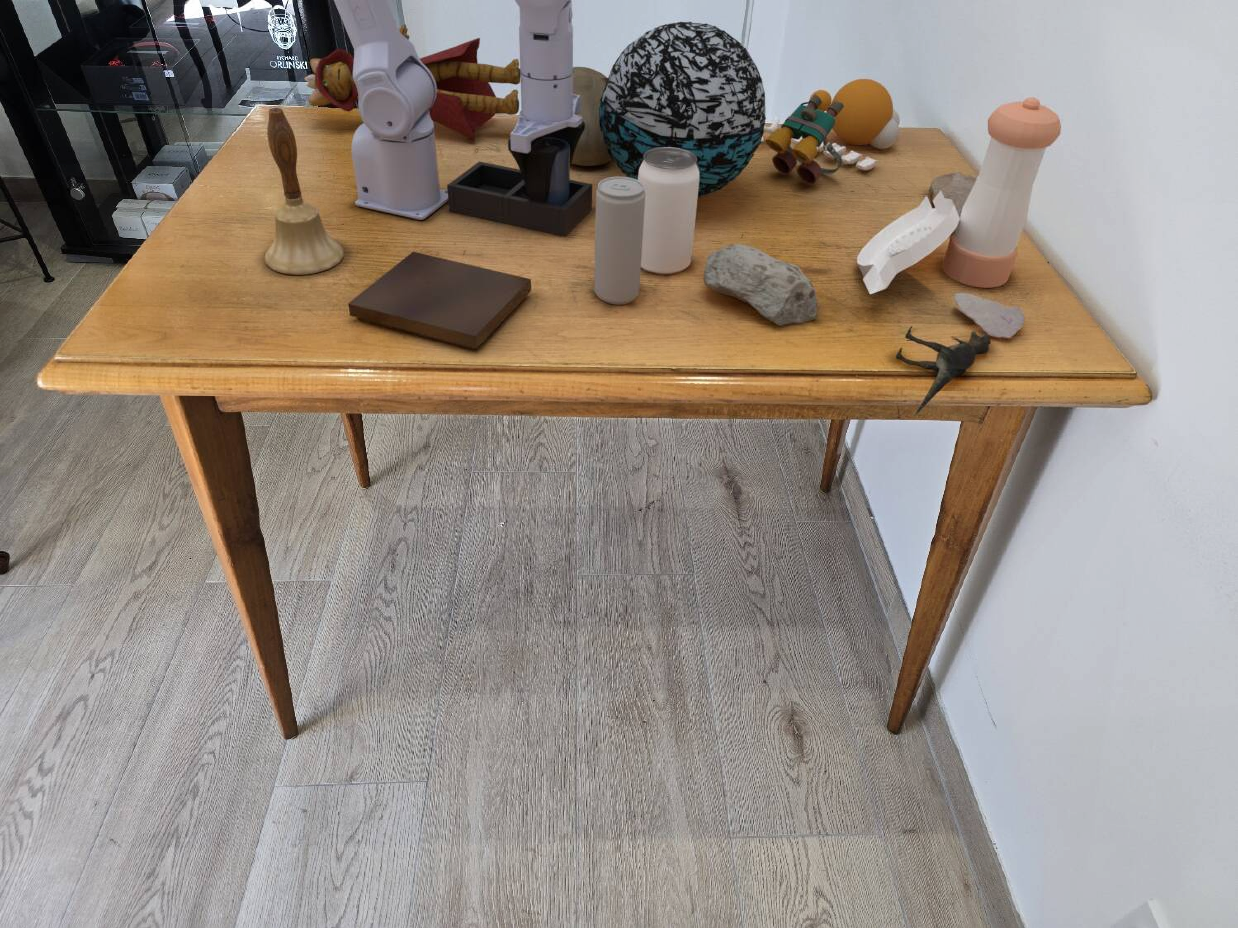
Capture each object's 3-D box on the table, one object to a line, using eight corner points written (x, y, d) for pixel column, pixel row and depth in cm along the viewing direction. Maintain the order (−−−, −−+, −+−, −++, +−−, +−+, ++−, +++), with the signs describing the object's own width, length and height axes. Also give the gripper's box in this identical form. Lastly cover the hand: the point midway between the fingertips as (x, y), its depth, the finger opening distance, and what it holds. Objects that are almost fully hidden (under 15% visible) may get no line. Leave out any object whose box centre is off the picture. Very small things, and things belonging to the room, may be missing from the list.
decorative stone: (694, 317, 91) (699, 273, 87) (708, 268, 99) (713, 226, 95) (814, 334, 89) (824, 290, 86) (818, 283, 97) (827, 241, 94)
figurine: (513, 137, 118) (293, 130, 119) (527, 169, 131) (328, 162, 132) (519, 18, 118) (298, 11, 119) (531, 61, 131) (332, 55, 132)
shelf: (351, 321, 87) (347, 303, 86) (415, 268, 96) (412, 251, 95) (476, 354, 84) (475, 336, 83) (531, 296, 92) (531, 279, 91)
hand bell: (359, 250, 98) (335, 104, 88) (310, 282, 93) (278, 130, 82) (300, 233, 101) (270, 89, 91) (248, 264, 95) (210, 113, 85)
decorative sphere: (637, 239, 103) (648, 57, 90) (572, 172, 117) (573, 7, 104) (784, 214, 110) (814, 41, 97) (706, 154, 123) (723, -4, 110)
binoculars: (770, 180, 123) (754, 129, 114) (810, 132, 124) (797, 77, 115) (825, 203, 118) (812, 150, 109) (866, 153, 119) (856, 97, 110)
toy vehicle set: (866, 165, 119) (862, 178, 121) (879, 157, 122) (876, 170, 123) (791, 136, 125) (789, 149, 126) (806, 129, 127) (803, 142, 128)
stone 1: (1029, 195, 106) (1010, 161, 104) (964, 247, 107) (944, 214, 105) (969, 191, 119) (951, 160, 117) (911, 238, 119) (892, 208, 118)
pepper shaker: (974, 293, 96) (1035, 115, 84) (928, 264, 101) (979, 91, 89) (1022, 280, 99) (1088, 106, 87) (974, 252, 104) (1031, 83, 91)
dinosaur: (925, 325, 92) (988, 355, 90) (852, 405, 79) (924, 442, 76) (939, 295, 90) (1004, 325, 88) (866, 372, 76) (941, 409, 74)
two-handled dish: (981, 189, 103) (975, 175, 102) (926, 274, 86) (918, 258, 86) (900, 222, 110) (894, 209, 109) (833, 307, 93) (826, 292, 93)
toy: (806, 171, 128) (910, 155, 127) (807, 105, 121) (917, 88, 120) (793, 141, 134) (893, 126, 133) (794, 78, 127) (898, 61, 127)
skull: (598, 94, 130) (609, 25, 120) (625, 189, 123) (639, 124, 113) (521, 98, 127) (526, 27, 117) (544, 194, 120) (551, 128, 110)
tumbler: (520, 207, 105) (519, 148, 100) (538, 191, 108) (537, 134, 104) (559, 215, 103) (559, 156, 99) (576, 199, 107) (576, 141, 102)
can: (697, 255, 101) (708, 151, 93) (681, 280, 96) (692, 174, 88) (643, 244, 102) (649, 141, 94) (625, 269, 98) (630, 163, 90)
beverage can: (634, 309, 91) (641, 199, 83) (589, 303, 92) (591, 193, 84) (642, 287, 95) (649, 179, 87) (599, 281, 95) (602, 173, 88)
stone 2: (1006, 348, 89) (1014, 332, 88) (938, 317, 92) (945, 301, 91) (1027, 325, 92) (1034, 309, 91) (961, 295, 95) (967, 279, 94)
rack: (449, 211, 107) (446, 185, 105) (480, 186, 113) (479, 161, 111) (565, 236, 103) (565, 210, 101) (592, 209, 109) (592, 184, 107)
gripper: (552, 98, 90) (553, 222, 99) (605, 60, 100) (602, 175, 109) (490, 87, 92) (496, 210, 100) (548, 50, 102) (550, 165, 111)
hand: (548, 191), depth 105 cm, fingers closed on tumbler, 5 cm apart
